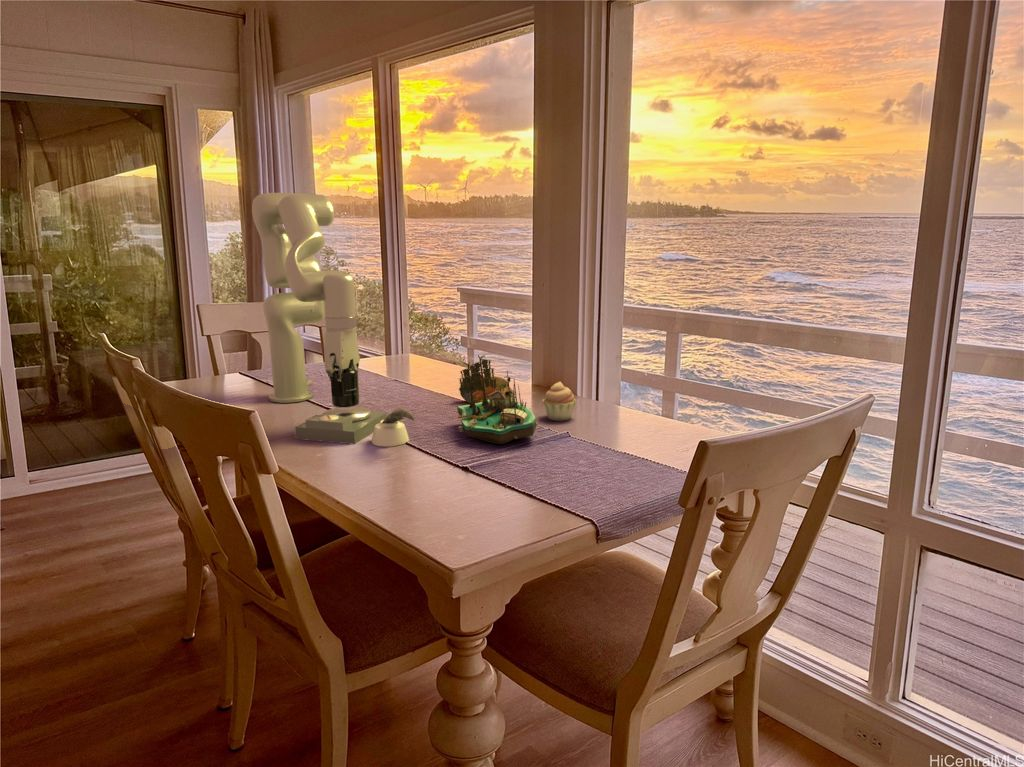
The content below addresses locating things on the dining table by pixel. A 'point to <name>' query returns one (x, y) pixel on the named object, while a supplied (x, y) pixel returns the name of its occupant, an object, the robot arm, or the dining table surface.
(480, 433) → the diorama
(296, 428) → the scale
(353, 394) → the supplement bottle
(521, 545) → the dining table surface
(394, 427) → the inkwell
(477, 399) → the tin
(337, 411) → the scale pan
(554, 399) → the cupcake
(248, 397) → the dining table surface
